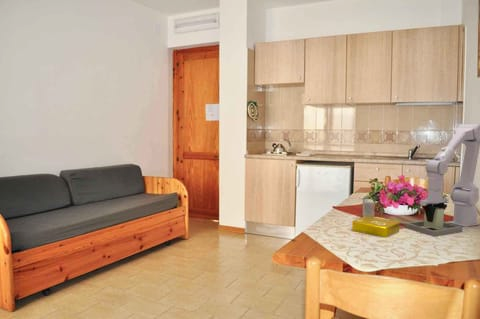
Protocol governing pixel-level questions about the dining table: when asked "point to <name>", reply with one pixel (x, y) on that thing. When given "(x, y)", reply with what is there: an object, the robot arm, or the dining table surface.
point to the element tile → (376, 226)
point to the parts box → (435, 219)
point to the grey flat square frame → (449, 229)
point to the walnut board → (404, 219)
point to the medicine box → (368, 207)
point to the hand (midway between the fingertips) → (433, 221)
